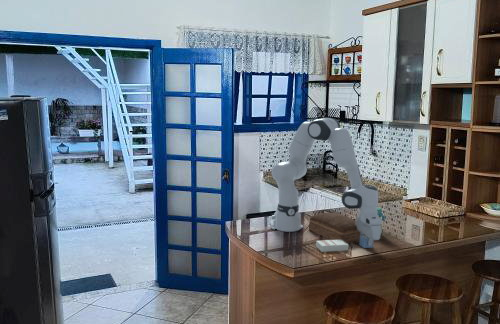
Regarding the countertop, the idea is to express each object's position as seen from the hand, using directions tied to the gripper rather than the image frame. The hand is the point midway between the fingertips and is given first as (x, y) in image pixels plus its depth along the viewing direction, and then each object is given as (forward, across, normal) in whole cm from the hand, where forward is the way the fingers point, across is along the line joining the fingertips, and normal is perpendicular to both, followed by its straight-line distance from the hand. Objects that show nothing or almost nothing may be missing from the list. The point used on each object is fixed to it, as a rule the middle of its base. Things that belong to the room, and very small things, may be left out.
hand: (366, 243), depth 229 cm
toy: (+2, -18, +14) cm, 23 cm away
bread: (+2, -21, -8) cm, 23 cm away
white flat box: (+2, 0, -19) cm, 19 cm away
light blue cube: (+2, 0, 0) cm, 2 cm away
